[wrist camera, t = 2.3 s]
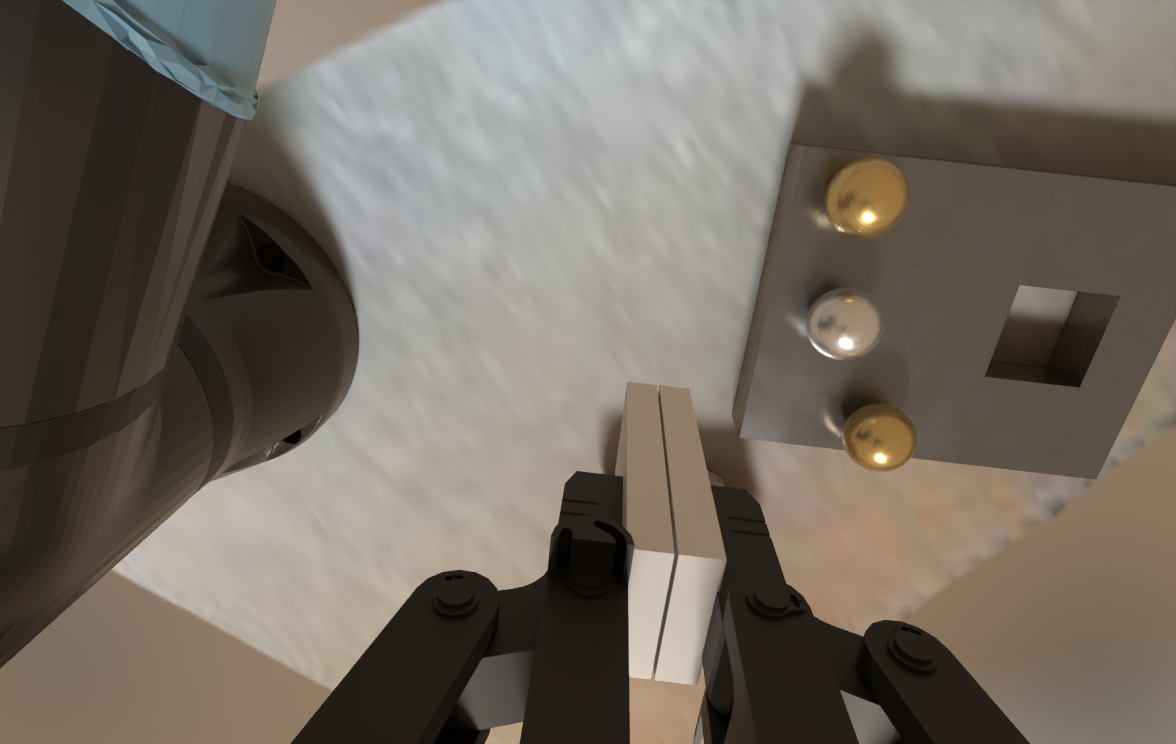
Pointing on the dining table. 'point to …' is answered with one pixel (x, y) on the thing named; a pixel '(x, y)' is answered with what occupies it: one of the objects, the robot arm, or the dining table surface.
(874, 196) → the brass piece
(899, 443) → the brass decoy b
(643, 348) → the dining table surface
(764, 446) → the dining table surface
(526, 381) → the dining table surface
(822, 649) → the robot arm
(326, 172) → the dining table surface
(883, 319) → the steel ball
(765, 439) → the plate
